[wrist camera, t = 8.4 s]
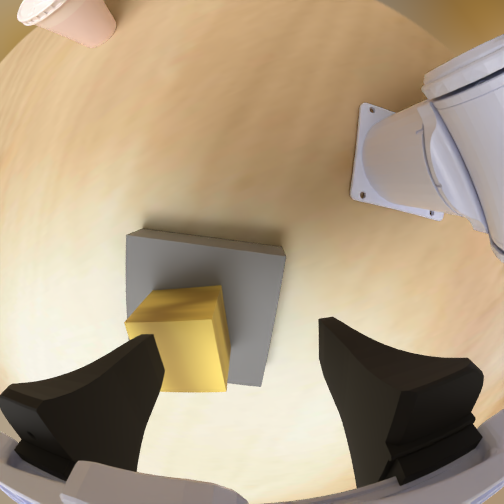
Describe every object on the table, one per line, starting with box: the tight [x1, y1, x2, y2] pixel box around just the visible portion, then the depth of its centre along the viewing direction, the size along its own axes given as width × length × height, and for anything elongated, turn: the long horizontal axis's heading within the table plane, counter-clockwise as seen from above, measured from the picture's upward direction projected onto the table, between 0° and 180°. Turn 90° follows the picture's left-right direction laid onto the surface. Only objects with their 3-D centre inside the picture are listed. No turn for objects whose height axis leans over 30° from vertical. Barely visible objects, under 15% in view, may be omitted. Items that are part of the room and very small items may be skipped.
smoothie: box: [17, 0, 116, 48], centre depth 9 cm, size 6×6×14 cm
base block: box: [126, 229, 286, 387], centre depth 21 cm, size 11×11×4 cm
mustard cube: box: [124, 285, 231, 392], centre depth 16 cm, size 5×5×5 cm
